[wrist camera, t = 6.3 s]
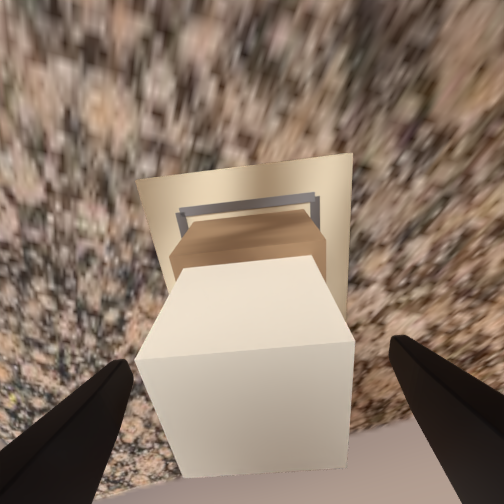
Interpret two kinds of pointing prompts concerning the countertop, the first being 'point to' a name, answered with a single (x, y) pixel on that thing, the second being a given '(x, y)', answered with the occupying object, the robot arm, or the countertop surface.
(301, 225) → the walnut block
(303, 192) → the build plate
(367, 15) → the countertop surface
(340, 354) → the cream block
